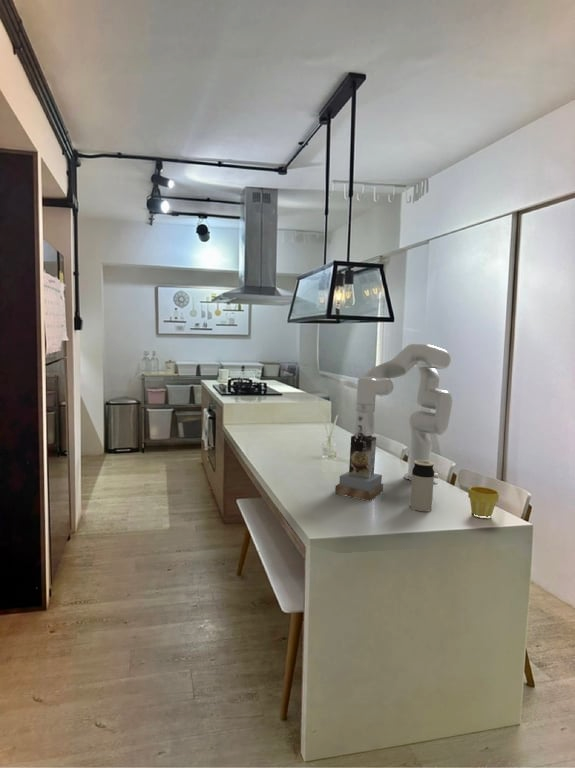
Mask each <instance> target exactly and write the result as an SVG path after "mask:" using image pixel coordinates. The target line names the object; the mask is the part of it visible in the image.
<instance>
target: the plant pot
mask: <svg viewBox="0 0 575 768" xmlns="http://www.w3.org/2000/svg"><path fill="white" fill-rule="evenodd" d="M467 496H468V498H469V500H470V501H469V502H470V509H471V514H472V513H473V514H475V515H478V516H486V517H488V516H491V515H492V516H493V513H494V510H495V507H496V504H497V503H498V502H499V499H500V498H499V497H500V492H499V491H498V490H496V489H495V488H494V489H493V488H490V487H487V486H485V487H484V486H470V487H469V488H468V494H467ZM492 516H491V517H492Z"/></svg>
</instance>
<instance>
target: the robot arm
mask: <svg viewBox="0 0 575 768" xmlns="http://www.w3.org/2000/svg"><path fill="white" fill-rule="evenodd" d="M451 358H452V357H451V355H450V353H449V352H448V351H447V350H446V349H443V348H441V347H437V346H434V345H431V344H427V343H426V344H425V343H409V344H408V345H406V346H405V347H404V348H403V349H401V351H399V352H398V353H397V355H395V356H394V357H393V358H392V359H391V360H388V361H385V362H383V363H380V364H378V365H375V366H374V367H373V368H371V369H370V370H368V371H367V372H366V373H365V374H364V375H363V376H361V377H359V378H358V379H357V387H356V389H357V390H356V405H355V411H356V418H355V426H354V427H355V428H354V430H355V431H354V435H355V451H358V452H362V451H363V442H362V441H363V438H364V436H365V437H368V436H371V437H373V436H372V435H374V433H375V409H376V396H383V397H384V396H388V395H390V394H391V393H392V392H393V390H394V383H393V381H392V379H396V378H400V377H403V376H405V375H407V373H409V371H410V370H411V369H413V367H414V366H416V367H417V369H418V372H419V375H420V378H419V379H420V380H419V386H418V392H417V396H416V403H417V406H419V407H420V408H421V409H427V410H434V411H435V412H431V411H424V410H416V411H413V412H412V413H411V414H410V416H409V422H408V423H409V432H410V438H409V451H408V454H409V455H408V469H407V472H406V473H404V476H403V477H404V478H405V479H407V480H408V479H409V481H412V470H413V468H414V466H415V464H414V461H415V460H427V461H431V454H432V438H431V436H430V435H435V436H443V435H444V434H445V433H446V432H447V430H448V426H449V423H450V416H451V410H452V406H453V397H452V394H451V392H449V391H448V390H446V389H445V390H444V389H439V385H440V374H439V373H438V370H445V369H447V368H448V367H449V366H450V364H451V361H452V360H451ZM360 437H361V438H360ZM439 477H440V476H439V474H438V473H437V472H434V479H439Z"/></svg>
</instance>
